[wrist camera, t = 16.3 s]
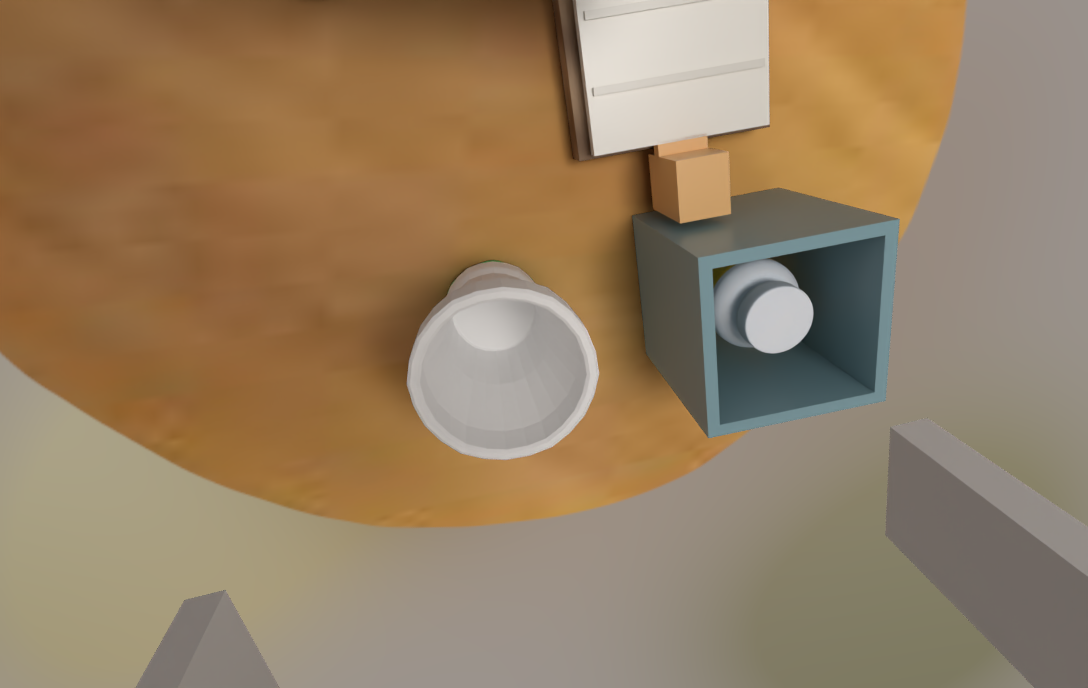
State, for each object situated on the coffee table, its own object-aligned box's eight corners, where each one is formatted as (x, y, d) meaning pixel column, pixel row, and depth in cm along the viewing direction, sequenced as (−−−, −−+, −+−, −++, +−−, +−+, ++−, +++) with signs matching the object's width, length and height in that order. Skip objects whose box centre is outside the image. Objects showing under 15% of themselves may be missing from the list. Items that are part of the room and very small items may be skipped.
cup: (519, 388, 50) (539, 487, 37) (398, 332, 47) (374, 419, 34) (587, 276, 47) (634, 340, 34) (463, 208, 44) (463, 250, 31)
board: (541, -81, 38) (546, -94, 36) (749, -114, 39) (767, -128, 37) (573, 158, 44) (579, 161, 42) (753, 125, 45) (769, 126, 42)
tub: (632, 215, 46) (697, 257, 33) (779, 187, 47) (899, 218, 34) (646, 353, 51) (708, 438, 38) (779, 326, 51) (885, 400, 39)
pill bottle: (666, 310, 49) (722, 366, 39) (677, 233, 47) (740, 271, 36) (739, 311, 50) (814, 367, 40) (754, 236, 48) (837, 274, 37)
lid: (562, -48, 38) (579, -75, 32) (749, -79, 38) (797, -109, 33) (595, 219, 44) (614, 235, 39) (754, 189, 45) (795, 201, 39)
